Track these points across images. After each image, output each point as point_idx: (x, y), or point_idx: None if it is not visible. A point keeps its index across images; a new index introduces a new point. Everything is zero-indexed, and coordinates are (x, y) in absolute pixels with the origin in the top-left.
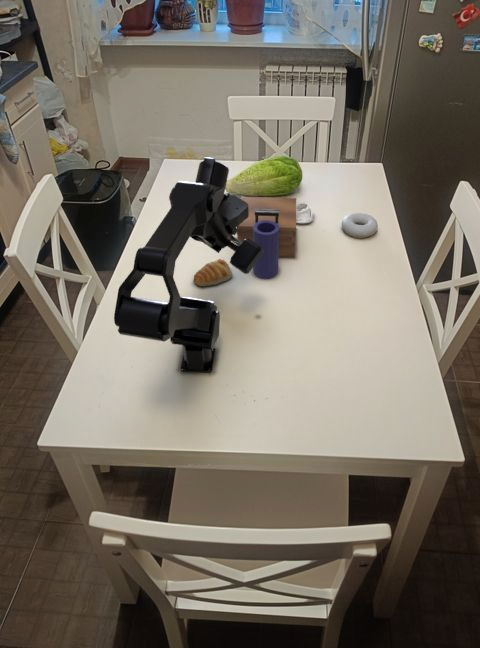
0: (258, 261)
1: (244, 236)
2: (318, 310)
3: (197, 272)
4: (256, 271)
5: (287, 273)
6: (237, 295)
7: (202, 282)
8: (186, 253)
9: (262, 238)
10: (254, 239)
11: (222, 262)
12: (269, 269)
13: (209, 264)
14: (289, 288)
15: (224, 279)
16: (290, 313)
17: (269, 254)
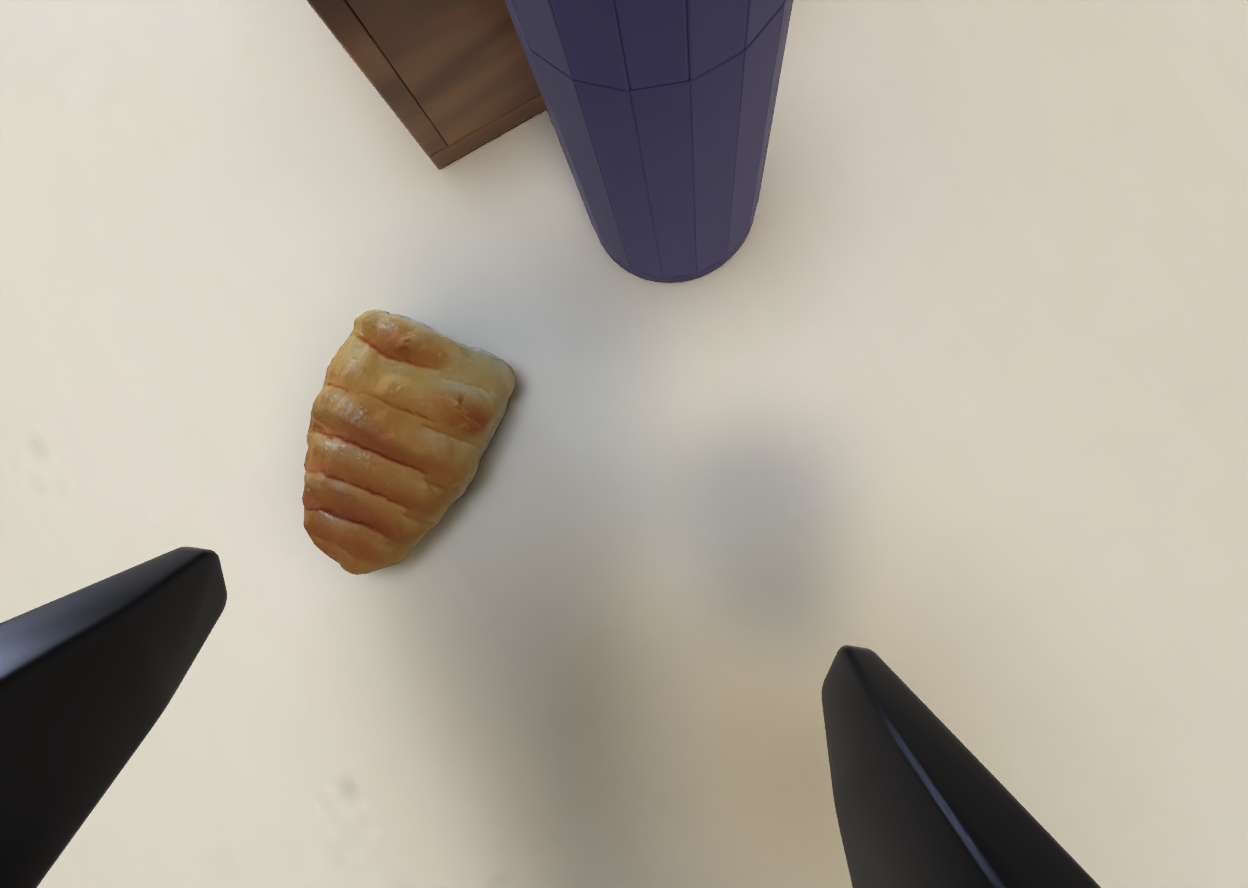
0: (655, 221)
1: (401, 26)
2: (1213, 366)
3: (307, 500)
4: (643, 263)
5: (809, 144)
6: (640, 508)
7: (389, 560)
8: (157, 317)
9: (679, 28)
10: (565, 72)
11: (404, 348)
12: (737, 218)
13: (335, 412)
14: (905, 269)
15: (491, 432)
16: (1054, 492)
17: (746, 135)
